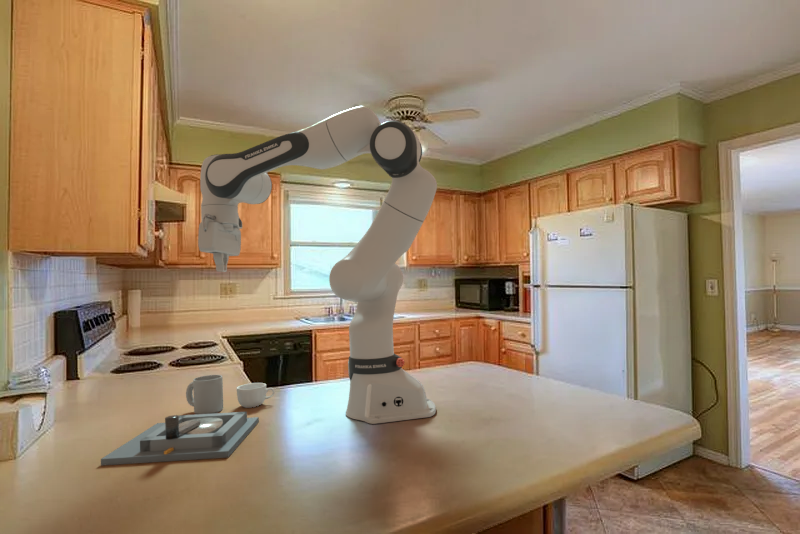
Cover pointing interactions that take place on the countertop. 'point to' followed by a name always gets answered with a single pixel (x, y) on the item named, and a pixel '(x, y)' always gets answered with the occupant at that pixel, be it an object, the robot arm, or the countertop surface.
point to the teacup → (252, 394)
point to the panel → (175, 455)
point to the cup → (206, 394)
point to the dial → (190, 426)
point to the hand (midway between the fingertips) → (221, 271)
